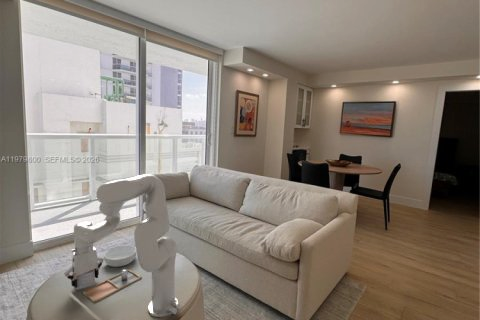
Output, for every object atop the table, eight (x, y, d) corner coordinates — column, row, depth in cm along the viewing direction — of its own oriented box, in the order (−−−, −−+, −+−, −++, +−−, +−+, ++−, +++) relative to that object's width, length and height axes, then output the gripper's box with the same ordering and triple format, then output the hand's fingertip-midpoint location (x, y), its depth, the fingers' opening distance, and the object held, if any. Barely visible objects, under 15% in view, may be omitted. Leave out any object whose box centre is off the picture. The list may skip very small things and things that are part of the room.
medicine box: (95, 282, 125) (94, 266, 124) (95, 287, 121) (94, 271, 120) (76, 287, 121) (75, 270, 120) (75, 292, 118) (74, 275, 116)
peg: (128, 279, 127) (128, 270, 126) (123, 282, 125) (123, 272, 124) (125, 277, 128) (125, 268, 128) (120, 279, 126) (120, 270, 126)
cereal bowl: (128, 272, 135) (127, 260, 134) (97, 271, 135) (97, 258, 135) (141, 256, 152) (141, 245, 151) (114, 255, 152) (113, 244, 151)
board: (142, 281, 128) (142, 277, 128) (95, 306, 109) (95, 302, 109) (128, 272, 135) (128, 268, 135) (81, 294, 116) (81, 290, 116)
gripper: (66, 258, 109) (68, 294, 112) (106, 243, 124) (107, 276, 126) (59, 252, 114) (61, 287, 116) (99, 239, 128) (100, 271, 130)
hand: (85, 281), depth 121 cm, fingers closed on medicine box, 9 cm apart
